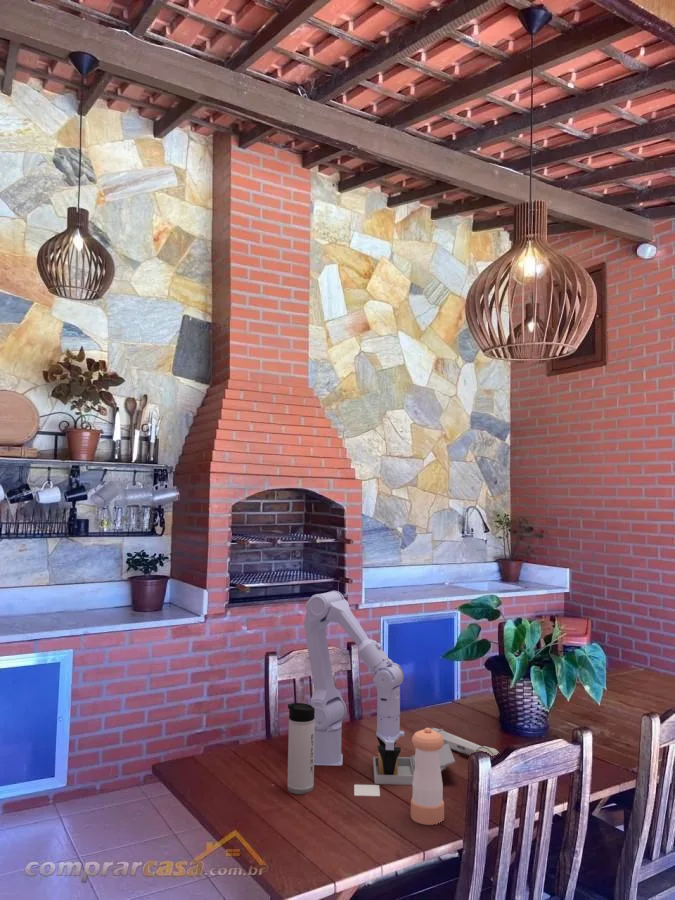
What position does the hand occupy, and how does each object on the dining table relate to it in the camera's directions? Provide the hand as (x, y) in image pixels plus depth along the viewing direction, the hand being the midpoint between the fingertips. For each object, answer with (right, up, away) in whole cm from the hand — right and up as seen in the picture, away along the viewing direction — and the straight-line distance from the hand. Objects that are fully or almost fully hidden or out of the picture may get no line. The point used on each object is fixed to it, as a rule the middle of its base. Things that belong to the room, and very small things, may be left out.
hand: (388, 769), depth 176 cm
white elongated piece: (+19, 0, +13) cm, 23 cm away
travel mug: (-22, -1, -9) cm, 23 cm away
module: (0, -1, 0) cm, 1 cm away
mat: (-6, -1, -10) cm, 12 cm away
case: (+6, -2, -1) cm, 7 cm away
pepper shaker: (+7, -1, -22) cm, 23 cm away
